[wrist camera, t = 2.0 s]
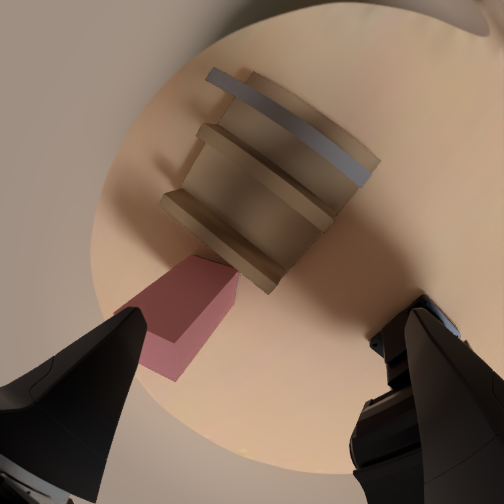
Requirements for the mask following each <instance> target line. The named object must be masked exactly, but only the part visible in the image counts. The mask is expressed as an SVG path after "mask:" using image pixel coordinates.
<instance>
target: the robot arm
mask: <svg viewBox="0 0 504 504" xmlns="http://www.w3.org/2000/svg"><path fill="white" fill-rule="evenodd" d="M423 300H426V301H425V302H424V303H421V302H422V301H423ZM146 333H147V322H146V320H145V318H144V316H143V313H142V311H141V309H140V308H139V307H135V306H128V307H126V308H125V309H123V310H122V311H120V312H119V313H117V314H116V315H114V316H113V317H111V318H110V319H108V320H106V321H105V322H104V323H102V324H101V325H99V326H97V327H96V328H94V329H93V330H91V331H90V332H88V333H87V334H85V335H84V336H82V337H81V338H79V339H78V340H77V341H75V342H73V343H72V344H70V345H69V346H67V347H66V348H65V349H63V350H62V351H60V352H59V353H57V354H56V355H55V356H53V357H51V358H50V359H49V360H47V361H45V362H44V363H42V364H41V365H39V366H38V367H36V368H34V369H33V370H31V371H29V372H28V373H26V374H24V375H23V376H21V377H19V378H18V379H16V380H14V381H12V382H11V383H9V384H7V385H5V386H2V387H0V504H74V503H73V501H72V499H70V498H69V496H70V494H72V495H75V496H77V497H80V498H82V499H84V500H87V501H89V502H92V503H96V500H97V496H98V492H99V488H100V484H101V480H102V476H103V473H104V469H105V465H106V462H107V460H106V459H107V457H108V454H109V450H110V447H111V444H112V441H113V437H114V434H115V431H116V427H117V425H118V421H119V418H120V415H121V412H122V409H123V406H124V403H125V400H126V397H127V395H128V392H129V389H130V386H131V383H132V380H133V377H134V375H135V372H136V369H137V366H138V363H139V359H140V355H141V352H142V348H143V344H144V340H145V337H146ZM456 335H457V336H456ZM460 337H461V335H460V332H459V331H458V330H457V328H456V327H455V326H454V325H453V324H452V323H451V321H450V320H449V319H448V318H447V317H446V316H445V315H444V314H443V313H442V311H441V310H440V309H439V308H438V307H437V306H436V305H435V304H434V303H433V302H432V301H431V300H430V299H429V297H428V296H426V295H421V296H420V297H419V298H418V299H417V300H416V301H414V302H413V303H412V304H411V305H410V306H409V307H408V308H407V309H406V310H404V311H402V312H401V313H400V314H399V315H398V316H396V317H395V318H394V319H393V320H392V321H391V322H389V323H388V324H387V325H386V326H385V327H384V328H382V331H380V332H379V333H378V334H377V335H375V336H374V337H373V338H372V339H371V340H370V347H371V348H372V349H373V350H374V351H375V352H377V353H378V354H379V355H380V356H382V357H383V358H384V361H385V363H386V369H387V382H388V386H390V388H391V391H389V392H387V393H385V394H383V395H382V396H380V397H378V398H376V399H374V400H373V399H371V400H369V401H367V402H366V403H365V405H364V407H363V410H362V412H361V414H360V416H359V419H358V421H357V424H356V426H355V429H354V431H353V433H352V435H351V438H350V444H349V447H350V455H351V459H352V462H353V464H354V466H355V468H356V470H354V471H353V475H354V476H355V478H356V479H357V480H358V481H359V482H360V484H361V486H362V488H363V490H364V492H365V495H366V499H367V502H368V504H504V380H503V379H502V378H501V377H500V376H499V375H498V374H497V373H496V372H495V371H493V369H492V368H490V367H489V366H488V365H487V364H486V363H485V362H484V361H483V360H482V359H481V358H480V357H479V356H478V355H477V354H476V353H475V352H474V351H473V350H472V348H471V346H470V345H469V343H468V341H467V340H465V341H464V342H463V341H461V340H460ZM375 342H377V344H373V343H375Z"/></svg>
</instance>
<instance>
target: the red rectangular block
mask: <svg viewBox="0 0 504 504" xmlns="http://www.w3.org/2000/svg"><path fill="white" fill-rule="evenodd" d="M238 274H239V271H238V270H237V269H235V268H232V267H228V266H225V265H222V264H219V263H216V262H212V261H209V260H206V259H203V258H200V257H197V256H194V255H190V256H189V257H188V258H186V259H185V260H184V261H182V262H181V263H179V264H178V265H177V266H175V267H174V268H173V269H171V270H170V271H168V272H167V273H166V274H164V275H163V276H162V277H160V278H159V279H158V280H156V281H155V282H154V283H152V284H151V285H150V286H148V287H147V288H146V289H144V290H143V291H142V292H140V293H139V294H138V295H136V296H135V297H134V298H132V299H131V300H130V301H128V302H127V303H126V304H124V305H123V306H122V307H121V308H119V309H118V310H117V311H115V312H114V313H113V314H114V315H116V314H117V313H119V312H120V311H122V310H123V309H125V308H126V307H128V306H135V307H139V308H140V309H141V311H142V313H143V316H144V318H145V320H146V322H147V333H146V337H145V340H144V344H143V348H142V352H141V355H140V359H139V364H141V365H143V366H145V367H147V368H149V369H151V370H153V371H154V372H156V373H158V374H160V375H162V376H164V377H166V378H168V379H170V380H173V381H175V382H176V381H177V380H178V378H179V377H180V376H181V375H182V373H183V372H184V371H185V369H186V368H187V367H188V365H189V364H190V363H191V361H192V360H193V359H194V357H195V356H196V355H197V353H198V352H199V351H200V349H201V348H202V347H203V345H204V344H205V342H206V341H207V340H208V338H209V337H210V336H211V334H212V333H213V332H214V330H215V329H216V328H217V326H218V325H219V324H220V322H221V321H222V320H223V318H224V317H225V315H226V314H227V313H228V311H229V310H230V309H231V307H232V306H233V305H234V299H235V293H236V287H237V281H238Z"/></svg>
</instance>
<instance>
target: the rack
mask: <svg viewBox="0 0 504 504" xmlns="http://www.w3.org/2000/svg"><path fill="white" fill-rule="evenodd" d="M205 80H206V81H208V82H210V83H212V84H214V85H215V86H217V87H219V88H221V89H222V90H224V91H226V92H228V93H229V94H231V95H233V96H234V97H235V98H234V100H233V101H232V103H231V104H230V106H229V107H228V109H227V110H226V112H225V113H224V115H223V117H222V118H221V120H220V121H219V123H218V124H217V125H215V124H208V123H203V124H202V126H201V127H200V129H199V131H198V132H197V134H196V137H198V138H199V139H201V140H202V141H204V142H205V143H206V144H205V145H204V147H203V149H202V150H201V152H200V154H199V155H198V157H197V159H196V161H195V162H194V164H193V166H192V168H191V169H190V171H189V173H188V175H187V176H186V178H185V180H184V182H183V184H182V185H181V187H180V189H178V190H175V191H171V192H168V193H165V194H164V195H163V197H162V199H161V201H160V203H159V206H160V207H162V208H163V209H164V210H165V211H166V212H168V213H169V214H170V215H171V216H172V217H173V218H175V219H176V220H177V221H178V222H179V223H181V224H182V225H183V226H184V227H185V228H187V229H188V230H189V231H190V232H191V233H193V234H194V235H195V236H196V237H198V238H199V239H200V240H201V241H202V242H204V243H205V244H206V245H207V246H208V247H210V248H211V249H212V250H213V251H215V252H216V253H217V254H218V255H219V256H221V257H222V258H223V259H224V260H226V261H227V262H228V263H229V264H231V265H232V266H233V267H234V268H235V269H237V270H238V271H239V272H240V273H242V274H243V275H244V276H245V277H247V278H248V279H249V280H250V281H252V282H253V283H254V284H255V285H257V286H258V287H259V288H260V289H262V290H263V291H264V292H265V293H267V294H268V295H269V294H270V293H271V292H272V291H273V290H274V289H275V287H276V286H277V285H278V283H279V281H280V279H281V278H282V277H283V276H284V275H285V274H286V273H287V272H288V270H289V269H290V268H291V267H292V266H293V265H294V264H295V263H296V261H297V260H298V259H299V258H300V257H301V256H302V255H303V254H304V252H305V251H306V250H307V249H308V248H309V247H310V246H311V244H312V243H313V242H314V241H315V240H316V239H317V238H318V236H319V235H320V234H321V233H322V232H323V233H324V232H325V231H326V230H327V229H328V228H329V227H330V225H331V224H332V223H333V222H334V221H335V217H336V215H337V214H338V213H339V212H340V211H341V209H342V208H343V207H344V206H345V205H346V203H347V202H348V201H349V200H350V199H351V197H352V196H353V195H354V194H355V193H356V191H357V190H358V189H359V188H361V187H362V186H363V185H364V184H365V183H366V181H367V180H368V179H369V178H370V176H371V175H372V174H371V173H372V172H373V171H374V169H375V168H376V167H377V166H378V164H379V163H380V162H381V160H380V159H379V158H377V157H376V156H375V155H374V154H373V153H372V152H370V151H369V150H368V149H367V148H366V147H365V146H363V145H362V144H361V143H360V142H358V141H357V140H356V139H355V138H353V137H352V136H351V135H350V134H348V133H347V132H346V131H344V130H343V129H342V128H341V127H339V126H338V125H337V124H335V123H334V122H333V121H331V120H330V119H328V118H327V117H326V116H324V115H323V114H321V113H320V112H319V111H317V110H316V109H314V108H313V107H311V106H310V105H308V104H307V103H305V102H304V101H302V100H301V99H299V98H298V97H296V96H295V95H293V94H292V93H290V92H288V91H287V90H285V89H284V88H282V87H280V86H279V85H277V84H275V83H274V82H272V81H270V80H268V79H267V78H265V77H263V76H261V75H260V74H258V73H256V72H254V71H253V73H252V74H251V75H250V77H249V78H248V80H247V81H246V82H245V83H243V82H241V81H239V80H238V79H236V78H234V77H232V76H230V75H228V74H227V73H225V72H223V71H221V70H219V69H217V68H215V67H213V68H212V70H211V71H210V73H209V74H208V76H207V77H206V79H205Z"/></svg>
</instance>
